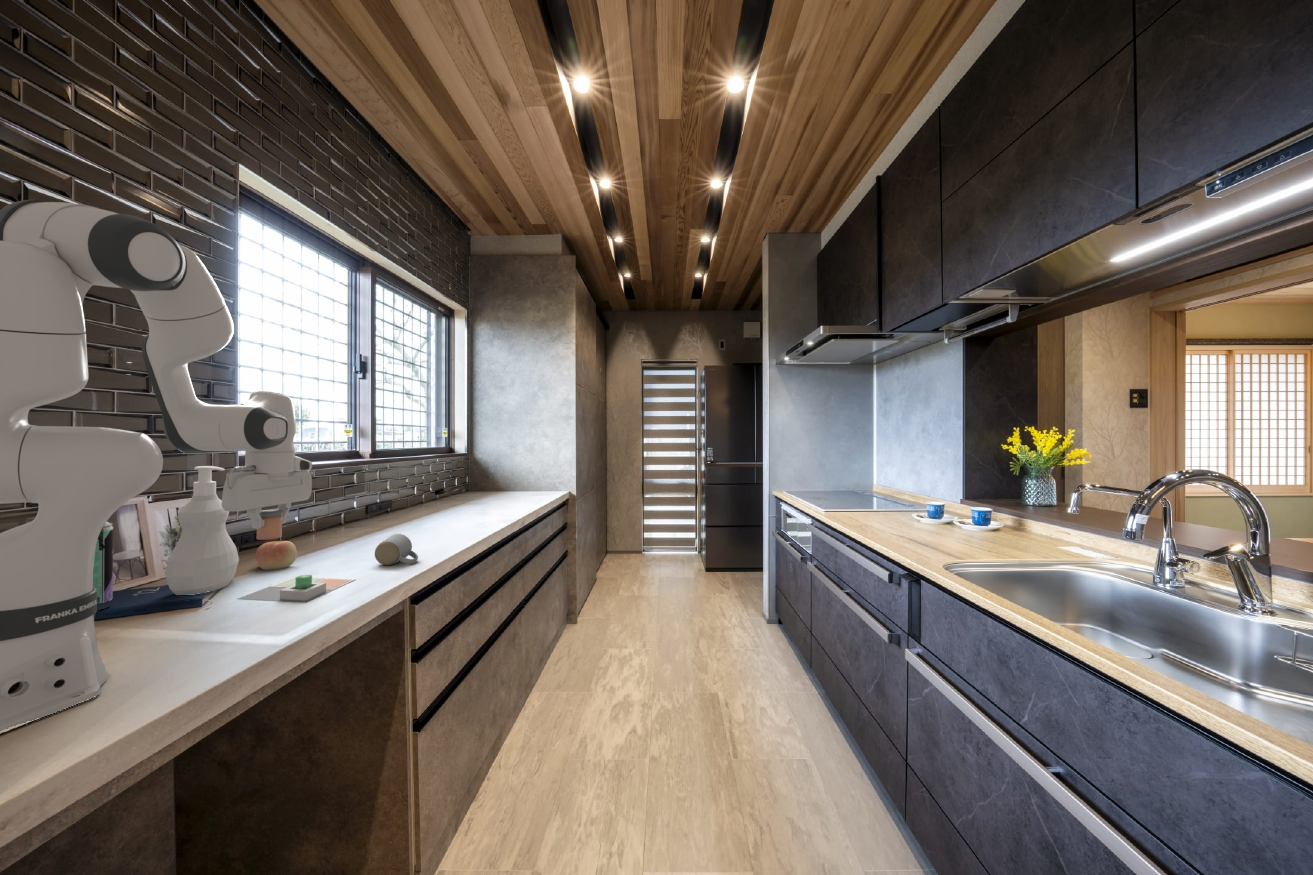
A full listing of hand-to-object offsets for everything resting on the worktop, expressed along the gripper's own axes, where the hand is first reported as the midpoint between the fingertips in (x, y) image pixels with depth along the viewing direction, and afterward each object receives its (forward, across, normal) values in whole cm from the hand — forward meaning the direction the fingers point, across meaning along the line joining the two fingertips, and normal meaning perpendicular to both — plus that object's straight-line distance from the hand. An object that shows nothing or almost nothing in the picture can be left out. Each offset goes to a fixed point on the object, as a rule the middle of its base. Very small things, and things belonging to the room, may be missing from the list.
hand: (269, 525), depth 109 cm
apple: (+16, +21, +16) cm, 31 cm away
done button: (+14, 0, -8) cm, 16 cm away
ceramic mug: (+17, +33, -10) cm, 38 cm away
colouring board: (+17, +4, -4) cm, 18 cm away
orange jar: (+3, 0, 0) cm, 3 cm away
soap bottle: (+17, +3, +18) cm, 25 cm away
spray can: (+17, -9, +30) cm, 36 cm away
